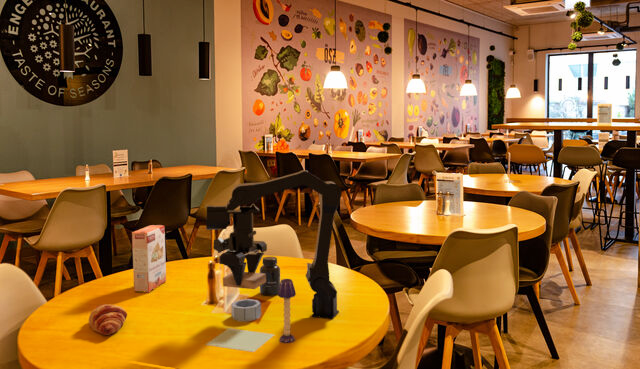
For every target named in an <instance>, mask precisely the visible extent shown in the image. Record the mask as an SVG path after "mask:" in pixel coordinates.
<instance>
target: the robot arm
mask: <svg viewBox="0 0 640 369" xmlns="http://www.w3.org/2000/svg"><path fill="white" fill-rule="evenodd" d="M302 186H305V187H308V188H309V189H311V190H313V191H314V192H316V193H318V201H319V202H318V203H319V209H320V210H319V213H320V214H319V220H318V229H317V235H316V236H317V237H316V243H315V250H314V251H315V252H314V257H313V260H312V262H311V263H310V262H307V263H306V264H307V265H306V266H307V267H306V268H307V271H306V274H305V278H306V280H307V283H308V285H309V288H310V289H311V290H312V291H313V292H314V294H313V298H312V299H311V304H312V305H311V306H312V308H311V312H312V314H311V317H312V318H320V319H329V320H333V319H334V318H335V317H336V316H337V315H338V314H339V313H340V311H339V310H338V291H337V289H336V287H335V286H334V283H333V282H331V281H330V269H329V256H330V248H331V243H332V242H331V240H332V233H333V226H334V217H335V214H336V212H337V209H338V207H339V204H340V201H341V198H342V192H343V191H342V189H341V187H340V186H339V185H338V184H336V183H335V182H334V181H330V180H329V181H324V180H323V179H321V178H320V177H317V176H316V175H314V174H312V173H311V172H309V171H308V170H307V169H306V170H305V169H303V170H300V171H298V172H295V173H291V174H287V175H284V176H281V177H276V178H273V179H269V180H265V181H260V182H245V183H239V184H237V185H235V186H234V187H233V189H232V192H231V197H230V199H229V200H228V201H227V202H226V205H207V206H206V217H205V228H206V230H207V231H209V230H210V231H211V230H228V227H229V226H231V222H232V230H233V231H231V232H230V234H229V237H227V238H222V237H219V238H216V239H214V240H213V248H212V249H213V250H215V251H216V252H217V254H220V253H221V254H220V255H219V257H218V260H219V265H223V266H226V267H228V268H229V269H230V271H231V273H232V274H233V277H234V279H235V282H236V284H237V285H239V286H240V285H241V282H242V279H243V275H244V272H246V267H247V272H253V273H257V269H258V267H259V265H260V262H261V260H262V259H263V256H264V255H265V254H264V253H265V252H266V251H267V250H268V244H267V243H266V241H265V240H264V241H263V240H254V239H255V238H254V236H255V235H257V231H256V230H254V214H257V213H260V209H259V208H258V207H257V206H256V205H255V203H254V202H256V201H259V200H260V199H262V198H263V197H265V196H268V195H273V194H276V193H279V192H284V191H287V190H290V189H294V188H297V187H302ZM250 204H251V205H250ZM248 205H250V206H248ZM239 207H240V209H237V208H239ZM231 215H232V221H231ZM224 251H225V252H224ZM222 252H223V253H222ZM245 260H246V262H245Z"/></svg>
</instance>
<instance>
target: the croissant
mask: <svg viewBox="0 0 640 369" xmlns="http://www.w3.org/2000/svg"><path fill="white" fill-rule="evenodd" d="M127 316H128V313H127V311H126V310H125V309H124V308H123V307H121V306H119V305H115V304H100V305H97V306H96V307H95V308H94V309H93V310H92V311H90V313H89V317H88V325H89V326H90V327H91V330H93V331H94V330H95V332H97V333H99V334H101V335H102V336H103V335H104V336H109V335H111V333H112V334H115V333H117V332H119V331H120V329H121V328H123V326H124V323H125V322H126V319H127ZM118 330H119V331H118ZM114 332H115V333H114Z"/></svg>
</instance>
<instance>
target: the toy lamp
mask: <svg viewBox="0 0 640 369" xmlns="http://www.w3.org/2000/svg"><path fill="white" fill-rule="evenodd" d="M296 294H297V293H296V290H295V285H294V281H293V279H290V278H283V279H280V286H279V290H278V294H277V297H279V298H280V299H281V298H282V299H283V306H284V307H283V317H284V318H283V323H284V324H283V334H282V335H281V336H280V337H279V339H278V340H279V342H280V343H282V344H291V343H294V342H295V341H296V338H295V336H294V335H293V334H291V298H294V297H295V296H296Z"/></svg>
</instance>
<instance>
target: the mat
mask: <svg viewBox="0 0 640 369" xmlns="http://www.w3.org/2000/svg"><path fill="white" fill-rule="evenodd" d="M275 335H276V334H273V333H267V332H261V331H251V330H244V329H238V328H237V329H236V328H231V327H230V328H227V329H225V331H223V332H222V333H220V334H219V335H217V336H215V337H214V338H213V339H211V340H210V341H208V342H207V343H205V344H204V345H206V346H212V347H219V348H226V349H231V350H232V349H233V350H237V351H245V352H250V353H251V352H252V353H254V352H256V351H257V350H258V349H260V348H261V347H262V346H263V345H264V344H265V343H266V342H268V341H269V340H270V339H272V338H273V337H274V336H275Z"/></svg>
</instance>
